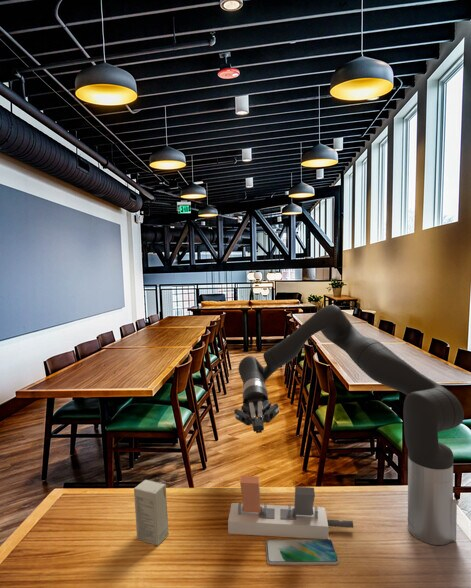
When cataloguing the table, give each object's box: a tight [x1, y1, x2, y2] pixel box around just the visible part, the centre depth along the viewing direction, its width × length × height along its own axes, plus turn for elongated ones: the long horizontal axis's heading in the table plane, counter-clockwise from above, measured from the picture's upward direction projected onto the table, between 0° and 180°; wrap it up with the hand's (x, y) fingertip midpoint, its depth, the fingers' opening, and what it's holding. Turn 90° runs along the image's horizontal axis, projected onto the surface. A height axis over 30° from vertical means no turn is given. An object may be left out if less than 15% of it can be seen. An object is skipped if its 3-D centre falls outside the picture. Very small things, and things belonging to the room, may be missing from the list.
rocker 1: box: [239, 475, 263, 513], centre depth 88 cm, size 5×2×14 cm
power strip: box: [227, 502, 354, 539], centre depth 91 cm, size 29×7×5 cm, turn 84°
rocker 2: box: [293, 486, 316, 516], centre depth 86 cm, size 5×2×14 cm
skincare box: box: [133, 479, 169, 546], centre depth 88 cm, size 6×4×12 cm
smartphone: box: [265, 538, 340, 566], centre depth 83 cm, size 7×1×15 cm
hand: (258, 430), depth 97 cm, fingers closed
